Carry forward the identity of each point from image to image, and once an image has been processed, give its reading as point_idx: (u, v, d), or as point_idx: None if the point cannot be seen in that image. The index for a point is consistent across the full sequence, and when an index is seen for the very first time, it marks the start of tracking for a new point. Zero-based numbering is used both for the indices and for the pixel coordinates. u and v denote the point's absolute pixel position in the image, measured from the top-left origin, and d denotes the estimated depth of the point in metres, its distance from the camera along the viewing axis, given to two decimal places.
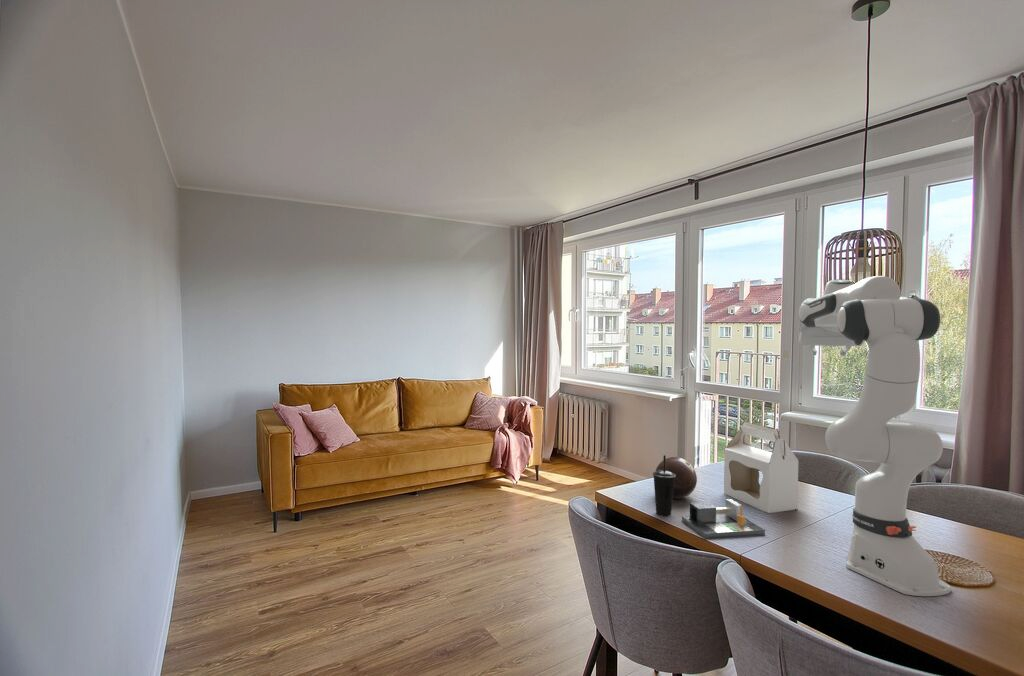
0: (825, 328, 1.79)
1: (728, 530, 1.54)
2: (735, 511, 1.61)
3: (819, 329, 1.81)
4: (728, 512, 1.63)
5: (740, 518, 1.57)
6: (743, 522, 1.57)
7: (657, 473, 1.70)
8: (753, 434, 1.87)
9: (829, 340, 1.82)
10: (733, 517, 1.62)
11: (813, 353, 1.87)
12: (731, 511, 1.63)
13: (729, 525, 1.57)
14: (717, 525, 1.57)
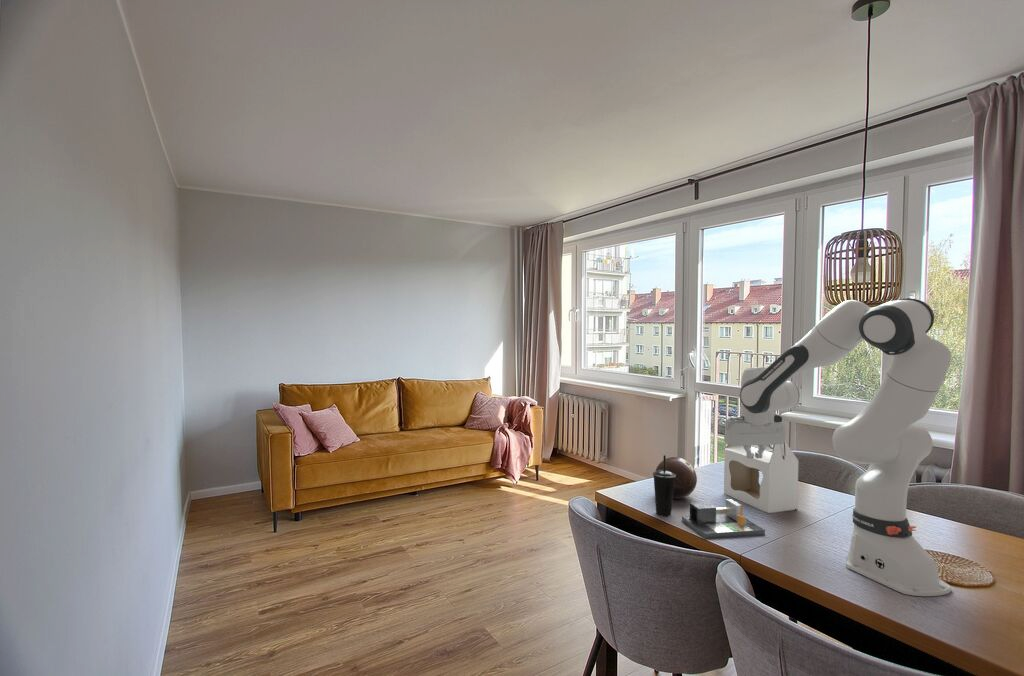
0: (752, 421, 1.61)
1: (728, 530, 1.54)
2: (735, 511, 1.61)
3: (745, 424, 1.62)
4: (728, 512, 1.63)
5: (740, 518, 1.57)
6: (743, 522, 1.57)
7: (657, 473, 1.70)
8: None
9: (756, 437, 1.62)
10: (733, 517, 1.62)
11: (751, 456, 1.63)
12: (731, 511, 1.63)
13: (729, 525, 1.57)
14: (717, 525, 1.57)
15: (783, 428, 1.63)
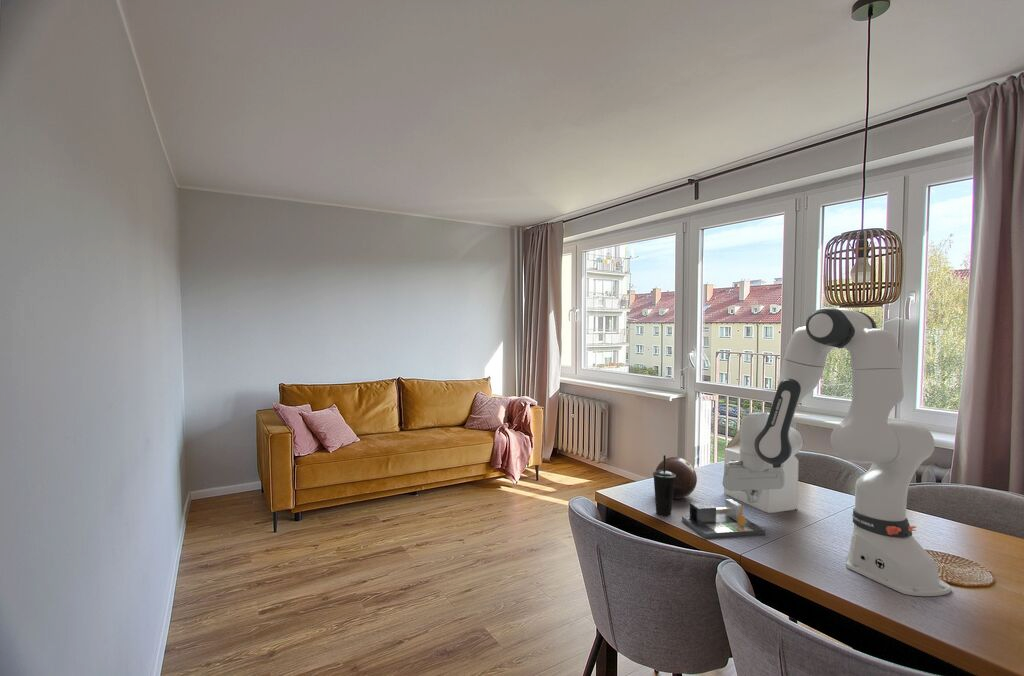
0: (751, 467, 1.61)
1: (728, 530, 1.54)
2: (735, 511, 1.61)
3: (744, 469, 1.63)
4: (728, 512, 1.63)
5: (740, 518, 1.57)
6: (743, 522, 1.57)
7: (657, 473, 1.70)
8: None
9: (754, 482, 1.63)
10: (733, 517, 1.62)
11: (751, 500, 1.64)
12: (731, 511, 1.63)
13: (729, 525, 1.57)
14: (717, 525, 1.57)
15: (782, 473, 1.64)
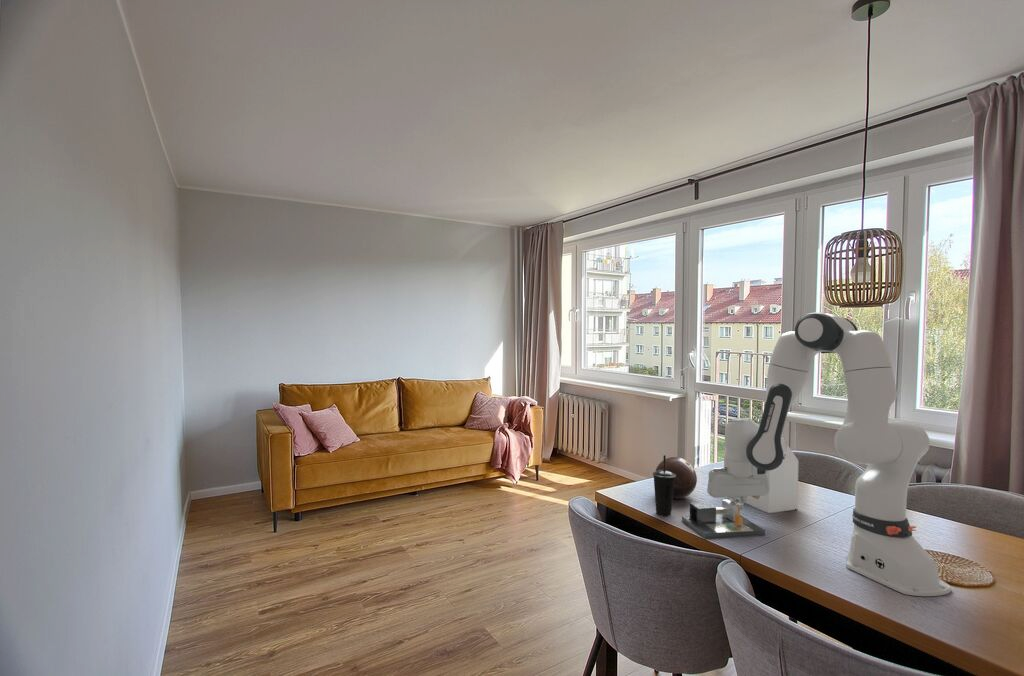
0: (735, 473, 1.60)
1: (728, 530, 1.54)
2: (732, 511, 1.61)
3: (728, 476, 1.62)
4: (725, 512, 1.62)
5: (737, 518, 1.57)
6: (740, 522, 1.56)
7: (657, 473, 1.70)
8: None
9: (739, 489, 1.62)
10: (729, 518, 1.62)
11: None
12: (728, 511, 1.63)
13: (729, 525, 1.57)
14: (717, 525, 1.57)
15: (767, 479, 1.63)
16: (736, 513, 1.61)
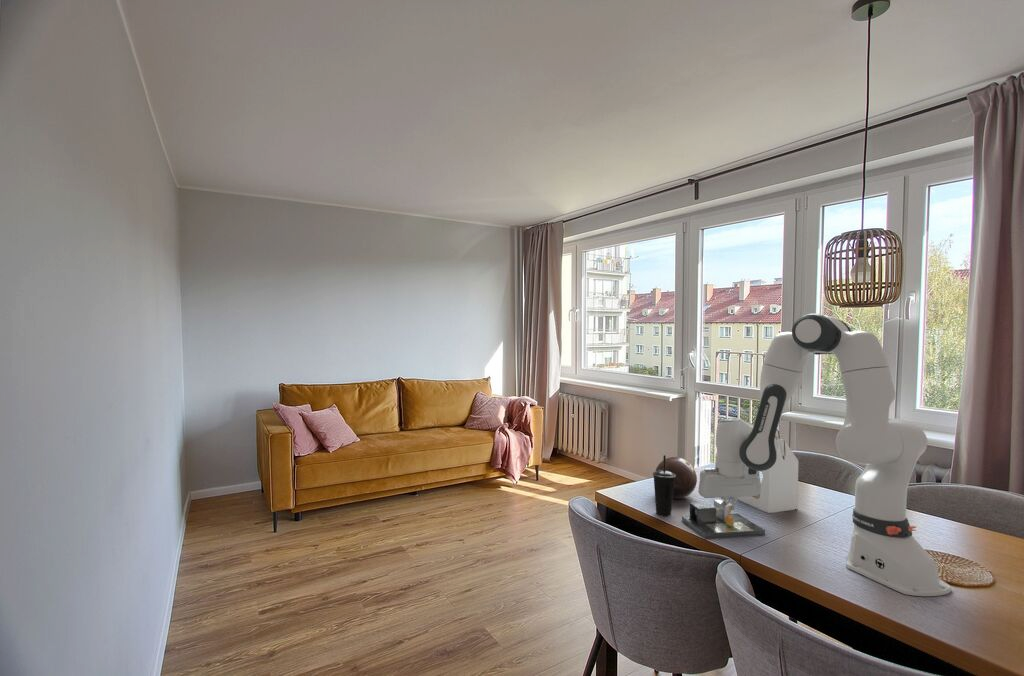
0: (726, 474, 1.60)
1: (728, 530, 1.54)
2: (723, 512, 1.60)
3: (720, 476, 1.61)
4: (716, 513, 1.62)
5: (728, 519, 1.56)
6: (731, 523, 1.56)
7: (657, 473, 1.70)
8: None
9: (730, 489, 1.62)
10: (720, 518, 1.62)
11: None
12: (719, 512, 1.62)
13: None
14: (717, 525, 1.57)
15: (758, 480, 1.62)
16: (727, 513, 1.60)
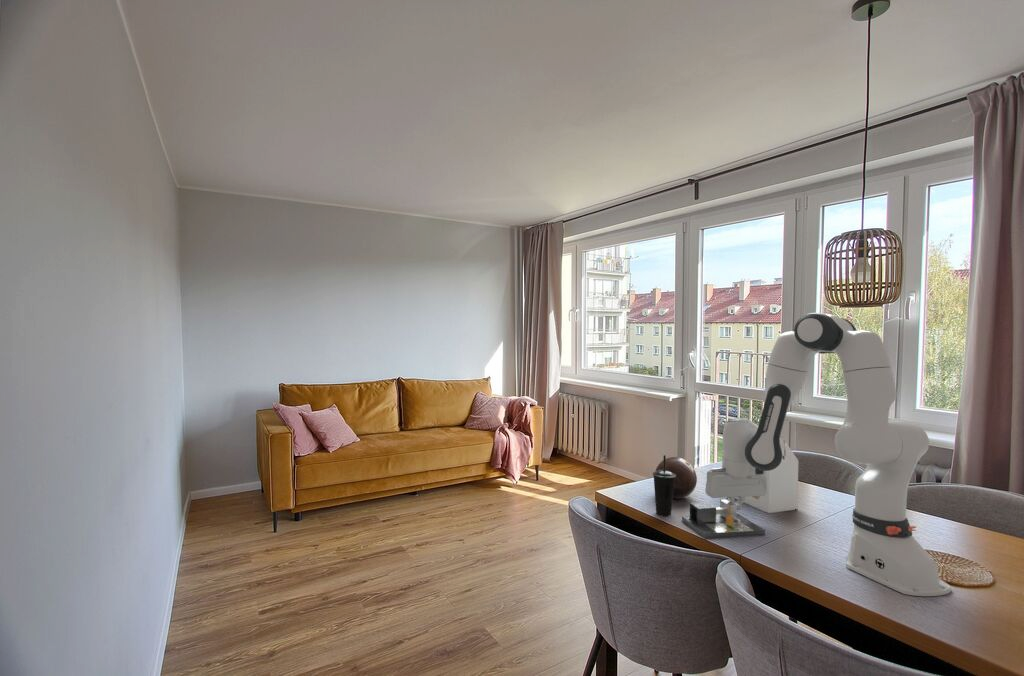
0: (734, 473, 1.60)
1: (728, 530, 1.54)
2: None
3: (727, 476, 1.61)
4: (722, 512, 1.62)
5: (728, 519, 1.56)
6: (731, 523, 1.56)
7: (657, 473, 1.70)
8: None
9: (737, 489, 1.62)
10: None
11: None
12: (725, 511, 1.62)
13: None
14: (717, 525, 1.57)
15: (765, 479, 1.63)
16: (734, 513, 1.60)
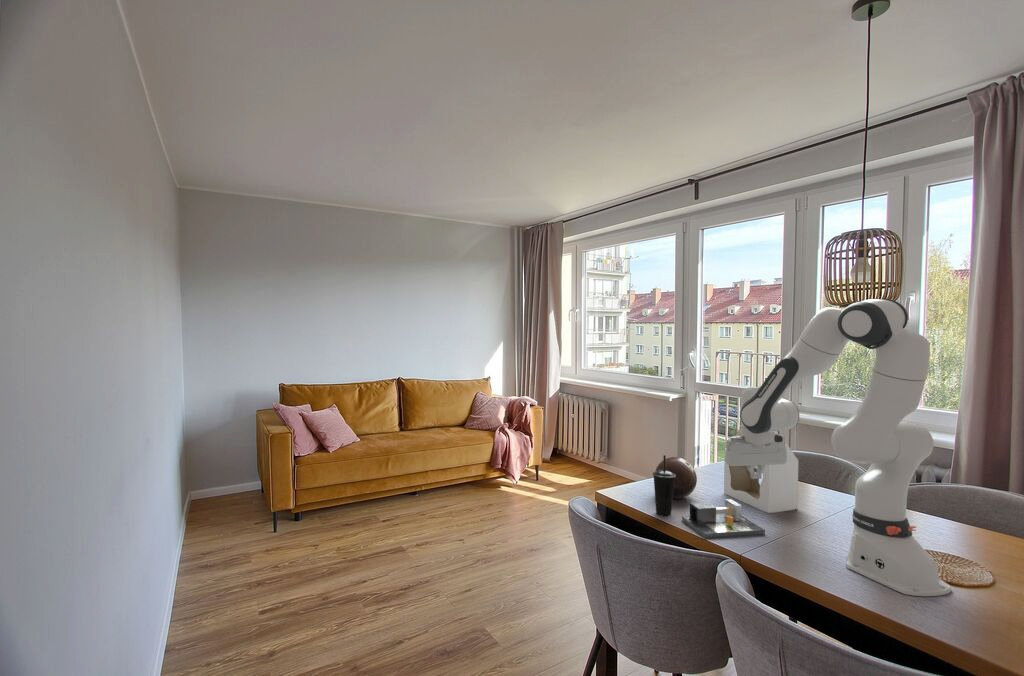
0: (753, 441, 1.61)
1: (728, 530, 1.54)
2: (734, 511, 1.61)
3: (746, 444, 1.62)
4: (727, 512, 1.62)
5: (728, 519, 1.56)
6: (731, 523, 1.56)
7: (657, 473, 1.70)
8: None
9: (757, 457, 1.62)
10: None
11: (754, 476, 1.63)
12: None
13: None
14: (717, 525, 1.57)
15: (784, 448, 1.63)
16: (739, 513, 1.61)
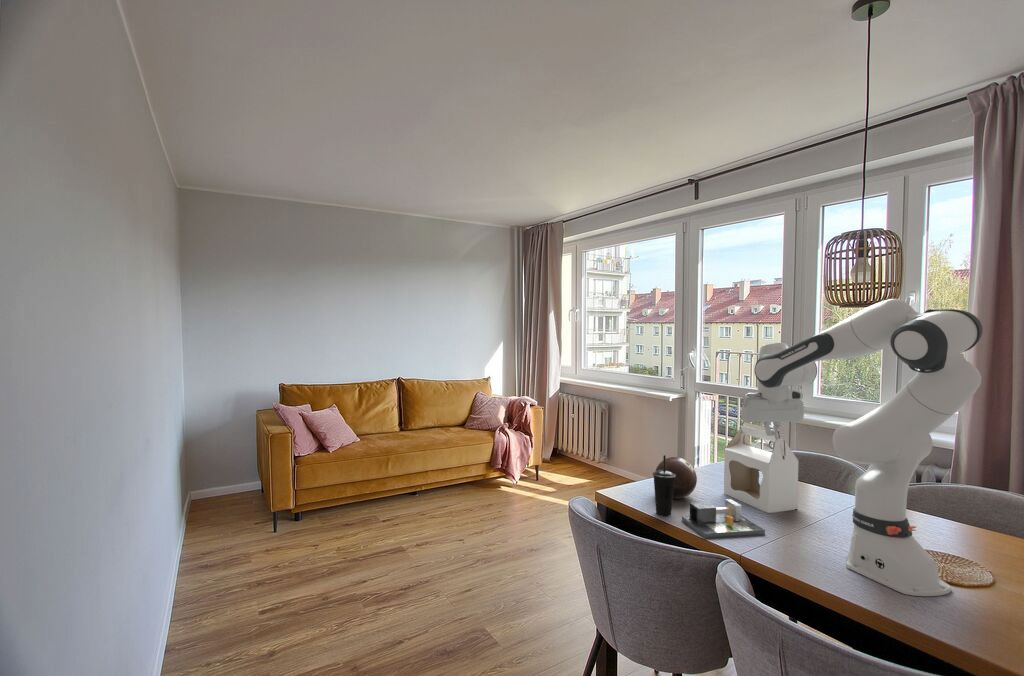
0: (770, 397, 1.58)
1: (728, 530, 1.54)
2: (734, 511, 1.61)
3: (763, 400, 1.59)
4: (727, 512, 1.62)
5: (728, 519, 1.56)
6: (731, 523, 1.56)
7: (657, 473, 1.70)
8: (753, 434, 1.87)
9: (773, 414, 1.60)
10: None
11: (770, 433, 1.61)
12: None
13: None
14: (717, 525, 1.57)
15: (802, 404, 1.61)
16: (739, 513, 1.61)
